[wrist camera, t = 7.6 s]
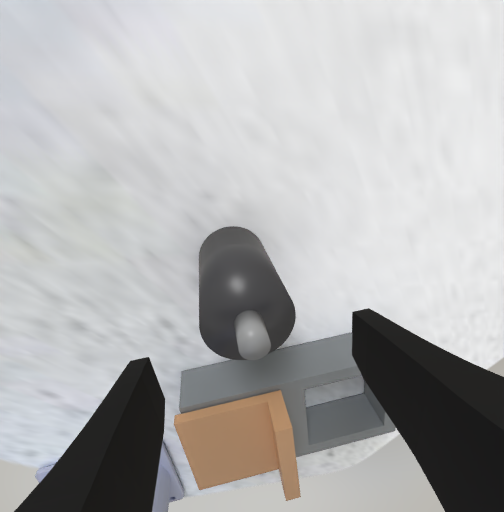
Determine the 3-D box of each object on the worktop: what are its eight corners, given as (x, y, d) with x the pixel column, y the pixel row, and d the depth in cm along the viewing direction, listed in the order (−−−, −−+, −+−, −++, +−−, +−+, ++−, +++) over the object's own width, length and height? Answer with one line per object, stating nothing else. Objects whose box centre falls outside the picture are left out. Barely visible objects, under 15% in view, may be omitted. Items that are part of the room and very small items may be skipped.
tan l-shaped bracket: (199, 480, 21) (199, 525, 19) (174, 415, 18) (171, 458, 16) (289, 457, 22) (300, 496, 20) (280, 389, 19) (292, 427, 16)
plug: (206, 291, 19) (211, 397, 11) (192, 233, 17) (188, 315, 10) (267, 279, 19) (310, 374, 12) (259, 220, 17) (304, 290, 10)
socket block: (204, 441, 24) (205, 481, 22) (181, 371, 21) (179, 408, 18) (374, 398, 26) (395, 430, 23) (379, 326, 22) (404, 354, 19)
